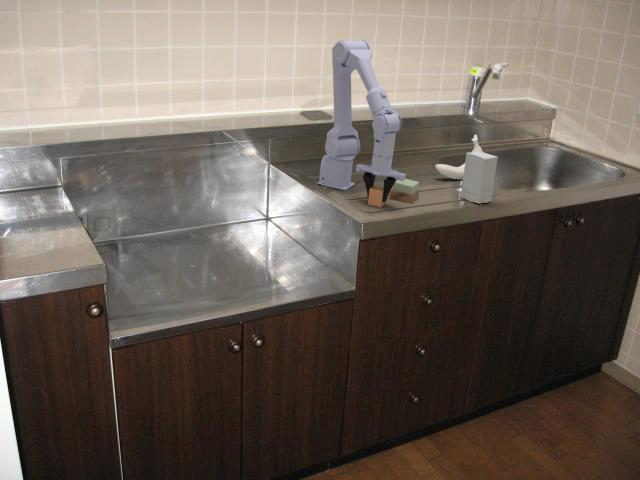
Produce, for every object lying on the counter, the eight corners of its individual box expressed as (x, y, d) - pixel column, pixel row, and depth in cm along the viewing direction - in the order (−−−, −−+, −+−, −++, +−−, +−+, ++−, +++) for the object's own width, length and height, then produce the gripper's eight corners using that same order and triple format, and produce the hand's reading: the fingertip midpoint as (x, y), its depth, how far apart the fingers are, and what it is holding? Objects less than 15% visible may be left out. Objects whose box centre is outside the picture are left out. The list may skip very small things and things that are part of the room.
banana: (432, 179, 236) (439, 136, 230) (471, 173, 247) (478, 133, 241) (442, 183, 232) (449, 140, 227) (481, 178, 243) (489, 136, 237)
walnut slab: (389, 199, 213) (390, 190, 212) (396, 193, 219) (397, 184, 218) (410, 204, 211) (412, 195, 210) (417, 198, 217) (419, 189, 216)
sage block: (392, 190, 212) (393, 182, 212) (399, 185, 218) (400, 177, 217) (411, 194, 210) (412, 186, 209) (417, 189, 215) (419, 182, 214)
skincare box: (491, 203, 218) (500, 157, 212) (477, 205, 215) (486, 158, 209) (471, 194, 224) (480, 149, 218) (458, 196, 221) (466, 151, 215)
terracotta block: (367, 204, 206) (369, 188, 204) (372, 200, 210) (374, 184, 208) (380, 207, 205) (382, 191, 203) (385, 203, 208) (387, 187, 206)
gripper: (354, 152, 201) (349, 197, 206) (402, 162, 195) (396, 208, 201) (363, 147, 207) (357, 191, 212) (410, 157, 202) (403, 202, 207)
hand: (377, 199), depth 207 cm, fingers closed on terracotta block, 4 cm apart
